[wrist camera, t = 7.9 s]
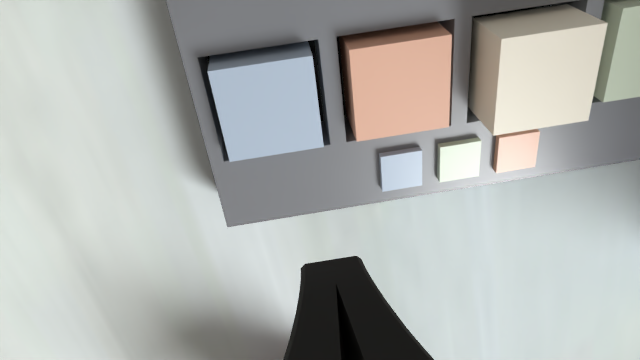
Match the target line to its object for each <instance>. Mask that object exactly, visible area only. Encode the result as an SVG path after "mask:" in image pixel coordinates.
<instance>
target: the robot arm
mask: <svg viewBox="0 0 640 360" xmlns="http://www.w3.org/2000/svg"><path fill="white" fill-rule="evenodd" d="M284 360H434V359H433V358H432V357H431V356H430V355H429V353H428V352H427V351H426V350H425V349H424V348H423V347H422V345H421V344H420V343H419V342H418V341H417V340H416V339H415V337H414V336H413V335H412V334H411V333H410V331H409V330H408V329H407V328H406V326H405V325H404V324H403V323H402V321H401V320H400V319H399V317H398V316H397V315H396V313H395V312H394V311H393V309H392V308H391V307H390V305H389V304H388V303H387V301H386V300H385V298H384V297H383V295H382V294H381V292H380V291H379V289H378V288H377V286H376V285H375V283H374V282H373V280H372V278H371V277H370V275H369V273H368V272H367V270H366V268H365V266H364V264H363V262H362V260H361V259H360V258H359V257H357V256H352V257H346V258H340V259H333V260H327V261H321V262H315V263H308V264H305V265H304V266H303V267H302V268H301V284H300V293H299V299H298V305H297V310H296V315H295V319H294V323H293V328H292V332H291V336H290V340H289V343H288V347H287V350H286V353H285V356H284Z"/></svg>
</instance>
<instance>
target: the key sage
mask: <svg viewBox="0 0 640 360" xmlns="http://www.w3.org/2000/svg"><path fill="white" fill-rule="evenodd" d="M601 20H603V21H605V22H607V23H608V25H607V30H606V35H605V40H604V45H603V50H602V55H601V60H600V65H599V70H598V75H597V80H596V85H595V90H594V95H593V96H595V97H596V98H597V99H599V100H600V101H602V102H609V101H616V100H622V99H628V98H634V97H640V0H604V6H603V11H602V16H601Z"/></svg>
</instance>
